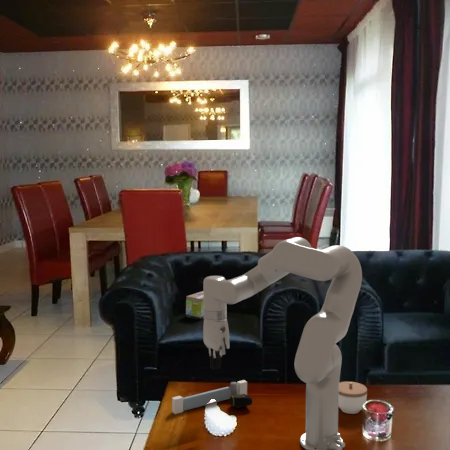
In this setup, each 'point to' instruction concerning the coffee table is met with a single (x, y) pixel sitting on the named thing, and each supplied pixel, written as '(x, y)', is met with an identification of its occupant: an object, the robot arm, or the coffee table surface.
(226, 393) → the long grey bar
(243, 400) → the tape measure
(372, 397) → the coffee table surface
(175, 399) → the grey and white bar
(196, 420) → the coffee table surface
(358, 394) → the lidded jar
